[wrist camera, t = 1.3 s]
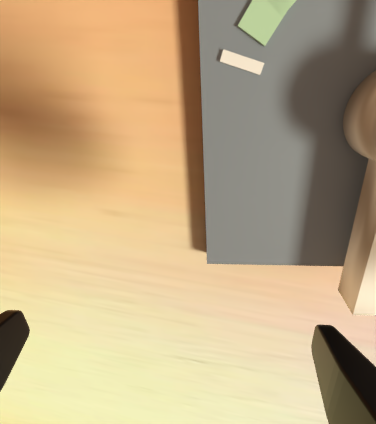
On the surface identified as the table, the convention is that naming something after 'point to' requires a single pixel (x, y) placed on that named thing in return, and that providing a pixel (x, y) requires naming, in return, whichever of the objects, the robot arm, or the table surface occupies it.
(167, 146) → the table surface
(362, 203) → the beige dial pointer lever
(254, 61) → the grey flat square plate
